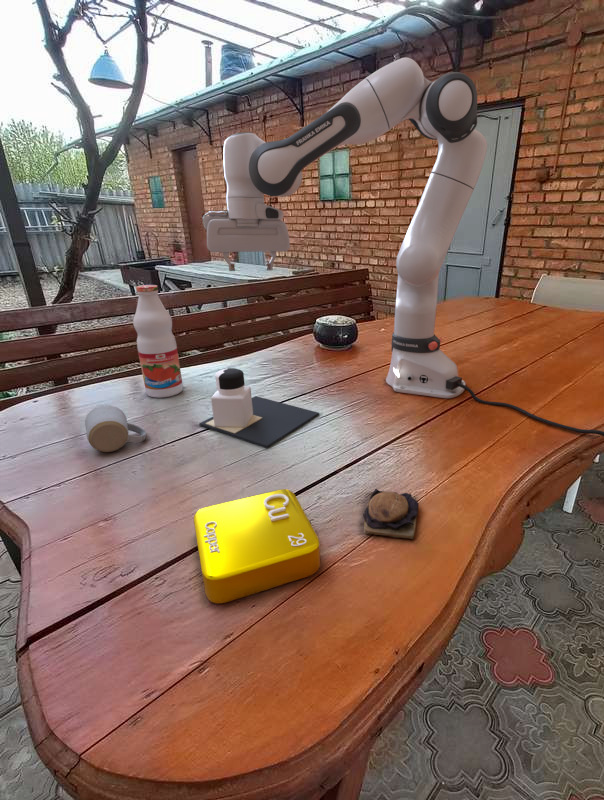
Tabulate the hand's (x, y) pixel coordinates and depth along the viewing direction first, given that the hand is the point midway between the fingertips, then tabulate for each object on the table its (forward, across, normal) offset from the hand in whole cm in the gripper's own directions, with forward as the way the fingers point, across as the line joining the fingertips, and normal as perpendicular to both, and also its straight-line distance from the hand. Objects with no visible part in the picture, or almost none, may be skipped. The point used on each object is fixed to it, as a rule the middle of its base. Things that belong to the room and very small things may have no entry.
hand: (251, 270), depth 109 cm
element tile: (+31, -5, -67) cm, 74 cm away
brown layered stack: (+31, +16, -64) cm, 73 cm away
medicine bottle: (+30, -7, -24) cm, 40 cm away
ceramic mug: (+31, -31, -28) cm, 52 cm away
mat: (+31, -1, -24) cm, 39 cm away
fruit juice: (+31, -25, 0) cm, 40 cm away
